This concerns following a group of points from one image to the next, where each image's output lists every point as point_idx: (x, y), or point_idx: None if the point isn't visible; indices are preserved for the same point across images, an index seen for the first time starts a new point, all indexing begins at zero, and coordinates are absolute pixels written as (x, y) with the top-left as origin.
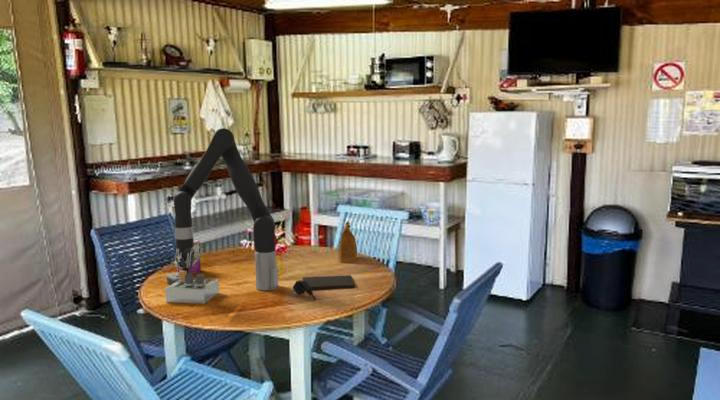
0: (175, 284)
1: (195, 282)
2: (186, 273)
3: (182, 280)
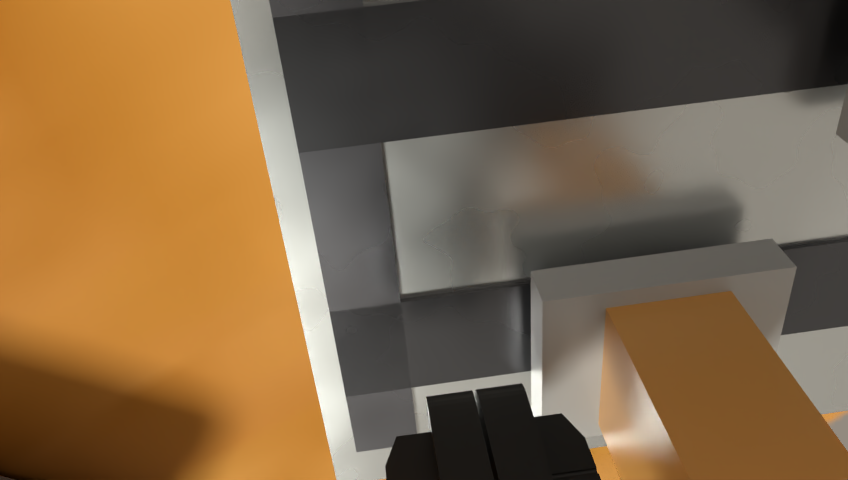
0: (811, 358)
1: (669, 3)
2: (692, 424)
3: (770, 323)
